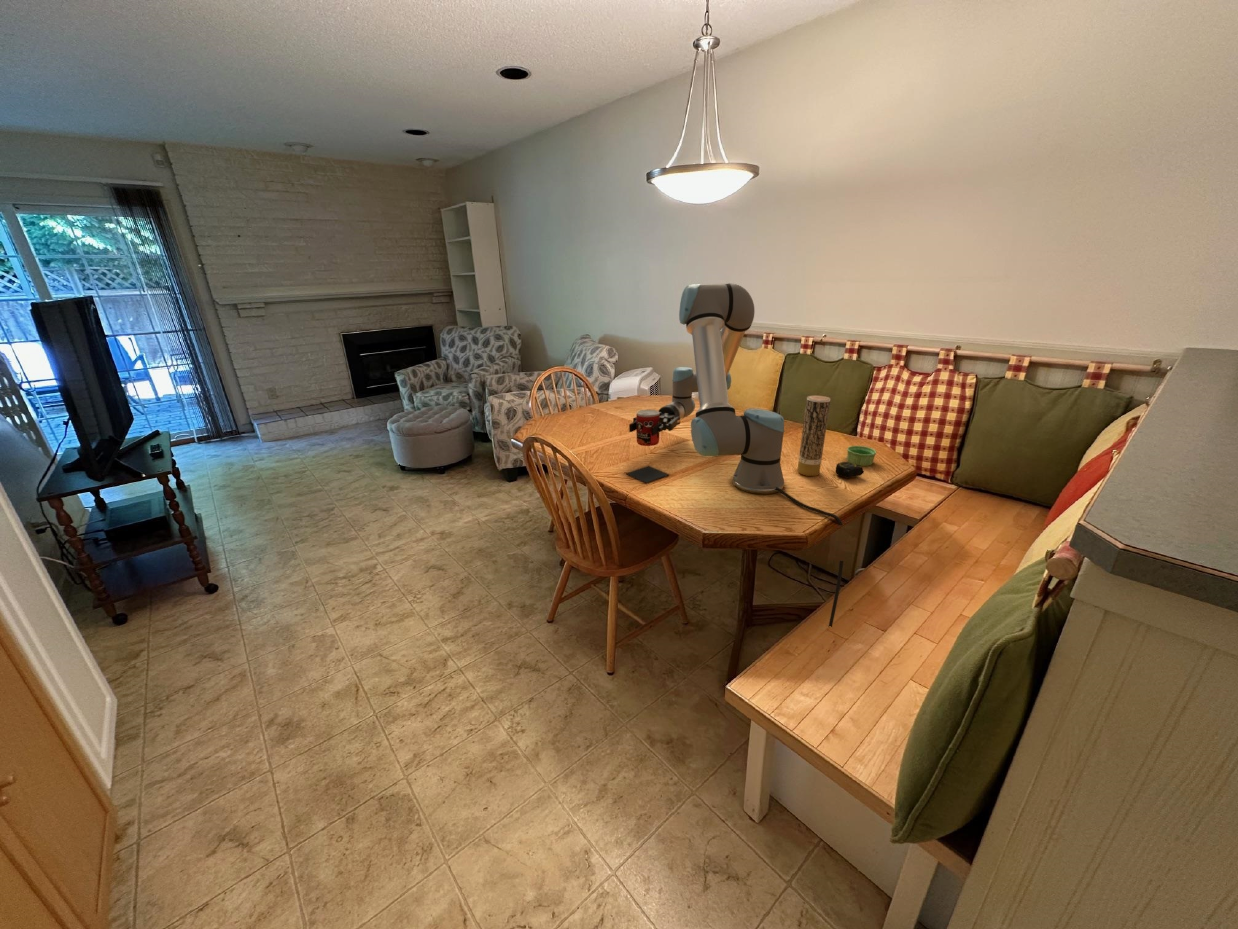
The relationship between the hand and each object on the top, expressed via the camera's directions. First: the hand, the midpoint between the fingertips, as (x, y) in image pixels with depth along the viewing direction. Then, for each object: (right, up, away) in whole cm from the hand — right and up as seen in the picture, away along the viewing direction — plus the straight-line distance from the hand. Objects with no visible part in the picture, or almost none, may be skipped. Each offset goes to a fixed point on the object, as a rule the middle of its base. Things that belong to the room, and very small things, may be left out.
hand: (641, 429), depth 161 cm
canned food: (+3, -4, +6) cm, 8 cm away
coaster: (+2, -15, -4) cm, 16 cm away
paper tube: (+55, -15, -5) cm, 57 cm away
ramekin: (+76, -11, +4) cm, 76 cm away
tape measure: (+66, -16, -8) cm, 69 cm away
